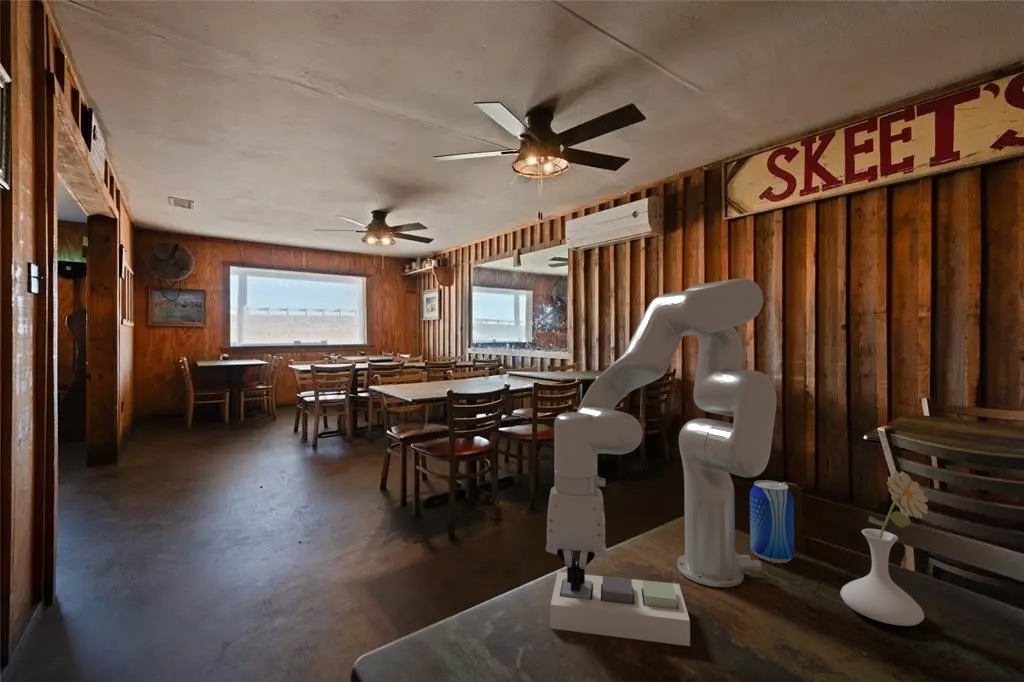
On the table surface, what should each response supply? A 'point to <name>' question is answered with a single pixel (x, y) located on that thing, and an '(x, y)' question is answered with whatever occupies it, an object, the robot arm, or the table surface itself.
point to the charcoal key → (617, 590)
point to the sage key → (659, 595)
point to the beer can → (772, 521)
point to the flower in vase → (877, 589)
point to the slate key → (582, 594)
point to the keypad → (620, 615)
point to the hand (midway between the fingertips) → (576, 586)
